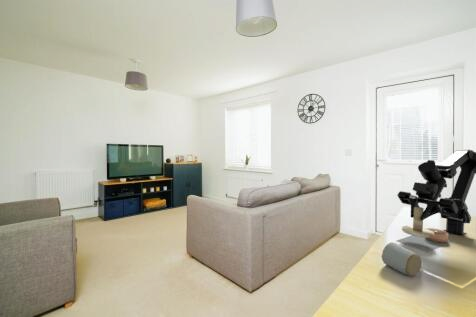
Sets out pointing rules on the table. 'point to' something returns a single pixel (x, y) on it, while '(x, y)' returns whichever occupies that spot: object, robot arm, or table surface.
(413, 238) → the slate mat
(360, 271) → the table surface
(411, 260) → the ceramic mug
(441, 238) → the terracotta bowl
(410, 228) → the birch lid
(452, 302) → the table surface
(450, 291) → the table surface
